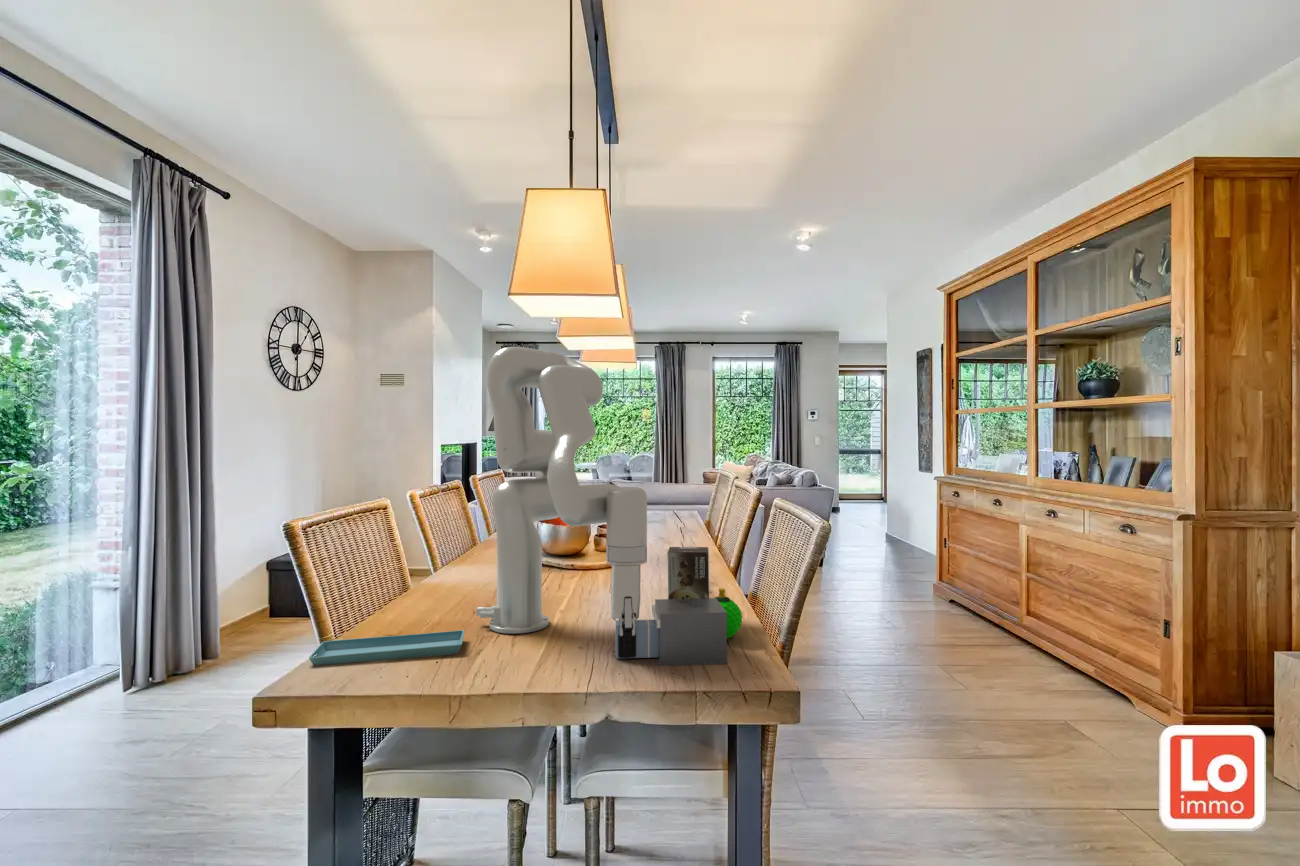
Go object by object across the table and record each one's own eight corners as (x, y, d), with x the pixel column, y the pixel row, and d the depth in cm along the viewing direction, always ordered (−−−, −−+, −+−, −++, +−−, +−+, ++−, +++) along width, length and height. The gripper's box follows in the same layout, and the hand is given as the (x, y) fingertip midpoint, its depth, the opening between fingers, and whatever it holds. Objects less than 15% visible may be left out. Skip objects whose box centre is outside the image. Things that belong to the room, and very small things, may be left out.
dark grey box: (656, 665, 109) (656, 614, 109) (651, 647, 119) (652, 599, 119) (726, 663, 110) (726, 612, 110) (716, 645, 120) (716, 598, 120)
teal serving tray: (307, 669, 108) (307, 655, 108) (322, 652, 117) (322, 639, 117) (461, 657, 114) (462, 644, 114) (465, 642, 123) (465, 629, 123)
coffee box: (709, 618, 138) (709, 546, 138) (709, 626, 132) (709, 551, 132) (669, 616, 139) (669, 545, 139) (667, 625, 133) (667, 550, 133)
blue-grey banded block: (616, 658, 112) (616, 625, 112) (615, 652, 115) (615, 620, 115) (692, 656, 113) (692, 623, 113) (689, 650, 116) (689, 618, 116)
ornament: (699, 632, 128) (699, 584, 128) (737, 631, 128) (737, 584, 128) (705, 645, 120) (705, 594, 120) (746, 644, 120) (746, 593, 120)
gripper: (605, 546, 121) (605, 639, 121) (607, 563, 105) (606, 670, 105) (643, 546, 122) (643, 638, 122) (650, 562, 106) (650, 669, 105)
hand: (626, 652), depth 113 cm, fingers closed on blue-grey banded block, 3 cm apart
